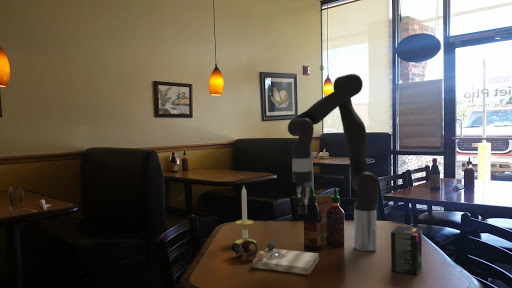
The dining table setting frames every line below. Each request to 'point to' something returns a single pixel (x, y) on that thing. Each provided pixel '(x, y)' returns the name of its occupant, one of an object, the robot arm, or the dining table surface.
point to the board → (288, 261)
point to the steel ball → (274, 255)
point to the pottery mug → (245, 249)
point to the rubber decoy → (271, 246)
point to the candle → (244, 219)
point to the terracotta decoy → (260, 255)
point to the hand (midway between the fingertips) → (303, 213)
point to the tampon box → (406, 250)
